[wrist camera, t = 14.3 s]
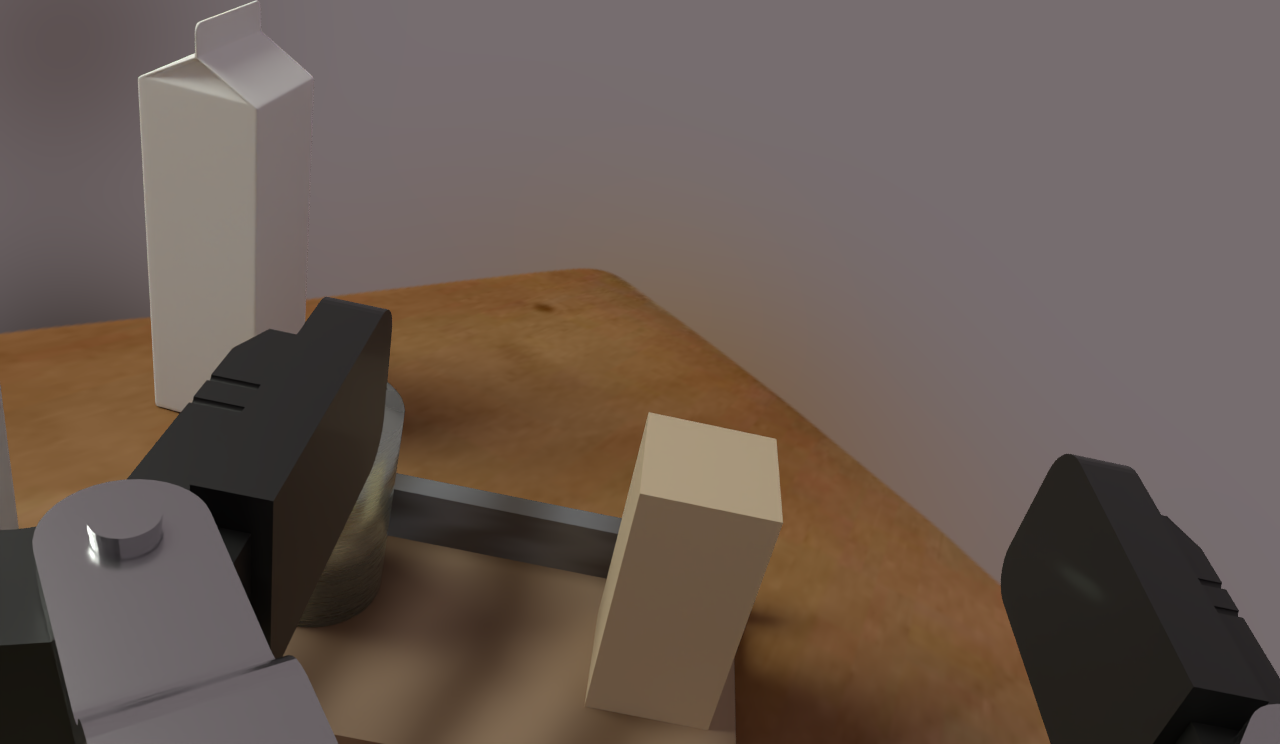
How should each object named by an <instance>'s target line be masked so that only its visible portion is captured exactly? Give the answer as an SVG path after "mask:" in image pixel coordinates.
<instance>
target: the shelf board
mask: <svg viewBox="0 0 1280 744" xmlns="http://www.w3.org/2000/svg"><path fill="white" fill-rule="evenodd" d="M621 520H622V518H617V517H612V516H607V515H602V514H597V513H592V512H587V511H582V510H577V509H572V508H567V507H562V506H557V505H552V504H547V503H542V502H537V501H532V500H527V499H522V498H517V497H512V496H507V495H502V494H497V493H492V492H487V491H482V490H477V489H472V488H467V487H463V486H458V485H453V484H448V483H443V482H438V481H433V480H428V479H423V478H418V477H413V476H408V475H403V474H398V473H396V478H395V485H394V492H393V499H392V506H391V513H390V520H389V527H388V534H387V541H386V548H385V555H384V562H383V569H382V576H381V583H380V588H379V591H378V593H377V595H376V597H375V599H374V600H373V601H372V603H371V604H370V605H369V606H368V607H367V608H366V609H365V610H363V611H362V612H361V613H360V614H358V615H356V616H355V617H353V618H351V619H349V620H347V621H344V622H341V623H338V624H334V625H330V626H324V627H298V626H297V627H296V630H295V632H294V634H293V636H292V638H291V640H290V642H289V644H288V646H287V648H286V650H285V653H284V655H283V657H284V656H287V655H292V656H294V657H295V658H296V659H297V660H298V661H299V663H300V664H301V666H302V667H303V669H304V670H305V672H306V674H307V676H308V678H309V680H310V683H311V685H312V687H313V689H314V691H315V694H316V696H317V698H318V700H319V702H320V705H321V707H322V709H323V711H324V713H325V716H326V718H327V720H328V722H329V724H330V726H331V729H332V731H333V733H334V735H335V737H336V740H337V742H338V744H736V718H735V668H734V659H733V662H732V665H731V668H730V671H729V673H728V676H727V679H726V682H725V684H724V687H723V690H722V693H721V695H720V698H719V701H718V704H717V707H716V709H715V712H714V715H713V718H712V720H711V723H710V726H709V729H708V730H704V729H699V728H694V727H689V726H683V725H678V724H673V723H668V722H663V721H658V720H653V719H647V718H642V717H637V716H632V715H627V714H622V713H617V712H612V711H606V710H601V709H596V708H591V707H586V706H585V699H586V692H587V685H588V678H589V671H590V664H591V657H592V650H593V643H594V636H595V629H596V622H597V615H598V611H599V607H600V603H601V599H602V595H603V592H604V588H605V584H606V580H607V576H608V572H609V568H610V564H611V560H612V556H613V552H614V548H615V544H616V540H617V536H618V532H619V528H620V524H621Z"/></svg>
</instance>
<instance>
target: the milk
mask: <svg viewBox="0 0 1280 744" xmlns="http://www.w3.org/2000/svg"><path fill="white" fill-rule="evenodd" d="M313 89H314V78H313V76H312V75H311V74H310V73H308V72H307V71H306V70H305V69H304V68H303V67H301V66H300V65H299V64H298V63H297V62H296V61H295V60H294V59H293V58H291V57H290V56H289V55H288V54H287V53H286V52H284V50H282V49H281V48H280V47H279V46H278V45H277V44H276V43H275V42H273V41H272V40H271V39H270V38H269V37H268V36H267V35H265V34H264V33H263V32H262V31H261V6H260V3H259V2H258V1H254V2H251V3H248V4H245V5H243V6H240V7H237V8H235V9H232V10H229V11H227V12H224V13H221V14H219V15H216V16H213V17H211V18H208V19H205V20H202V21H200V22H198V23H197V25H196V28H195V53H194V54H192V55H190V56H187V57H185V58H182V59H180V60H178V61H175V62H173V63H170V64H168V65H166V66H163V67H161V68H159V69H156V70H154V71H151V72H149V73H147V74H144V75H142V76H140V77H138V91H139V109H140V127H141V146H142V164H143V182H144V201H145V219H146V237H147V256H148V273H149V292H150V310H151V329H152V347H153V366H154V384H155V401H156V405H157V406H159V407H163V408H166V409H170V410H173V411H177V412H181V411H182V410H183V409H184V408H185V406H186V405H187V404H188V403H189V402H190V403H192V401H193V397H194V395H195V394H196V393H197V392H198V390H199V389H200V388H201V387H202V385H203V384H204V383H205V382H206V380H210V379H211V374H212V373H213V372H214V370H215V369H216V368H217V367H218V365H219V364H220V363H221V362H222V360H223V359H224V358H225V357H226V356H227V354H228V353H229V352H230V351H231V349H232V348H233V347H235V346H237V345H239V344H241V343H243V342H245V341H247V340H249V339H251V338H253V337H255V336H257V335H258V334H260V333H262V332H264V331H266V330H268V329H273V330H278V331H283V332H288V333H292V334H297V333H298V332H299V331H300V329H301V328H302V326H303V325H304V324H305V310H306V282H307V255H308V252H307V251H308V226H309V198H310V171H311V143H312V117H313V116H312V115H313Z"/></svg>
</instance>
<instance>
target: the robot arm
mask: <svg viewBox="0 0 1280 744" xmlns="http://www.w3.org/2000/svg"><path fill="white" fill-rule="evenodd" d="M391 333H392V315H391V312H390V310H387V309H382V308H378V307H373V306H368V305H363V304H359V303H354V302H349V301H344V300H339V299H335V298H330V297H325V298H323V299H322V300H321V301H320V303H319V304H318V305H317V307H316V308H315V310H314V311H313V312H312V314H311V315H310V317H309V318H308V319H307V321H306V322H305V324H304V325H303V326H302V328H301V329H300V331H299V332H298V333H297V334H292V333H288V332H283V331H278V330H273V329H268V330H266V331H264V332H262V333H260V334H258V335H257V336H255V337H253V338H251V339H249V340H247V341H245V342H243V343H241V344H239V345H237V346H235V347H233V348H232V349H231V351H230V352H229V353H228V354H227V356H226V357H225V358H224V359H223V360H222V362H221V363H220V364H219V365H218V367H217V368H216V369H215V370H214V372H213V373H212V374H211V379H210V380H206V382H205V383H204V384H203V385H202V387H201V388H200V389H199V390H198V392H197V393H196V394H195V395H194V397H193V401H192V403H190V402H189V403H188V404H187V405H186V406H185V408H184V409H183V410H182V411H181V413H180V414H179V415H178V416H177V418H176V419H175V420H174V421H173V423H172V424H171V425H170V426H169V428H168V429H167V430H166V431H165V433H164V434H163V435H162V436H161V438H160V439H159V440H158V441H157V442H156V444H155V445H154V446H153V447H152V449H151V450H150V451H149V452H148V454H147V455H146V456H145V457H144V459H143V460H142V461H141V462H140V464H139V465H138V466H137V467H136V469H135V470H134V471H133V472H132V474H131V475H130V476H129V477H128V479H127V480H119V481H112V482H106V483H102V484H98V485H94V486H91V487H89V488H86V489H83V490H80V491H78V492H76V493H74V494H72V495H70V496H68V497H66V498H65V499H63V500H62V501H60V502H59V503H57V504H56V505H55V506H53V507H52V508H51V509H50V510H49V511H48V512H47V513H46V514H45V515H44V516H43V518H42V519H41V520H40V521H39V523H38V525H37V527H31V528H24V529H11V530H0V744H338V742H337V740H336V737H335V735H334V733H333V731H332V729H331V726H330V724H329V722H328V720H327V718H326V716H325V713H324V711H323V709H322V707H321V705H320V702H319V700H318V698H317V696H316V694H315V691H314V689H313V687H312V685H311V683H310V680H309V678H308V676H307V674H306V672H305V670H304V669H303V667H302V666H301V664H300V663H299V661H298V660H297V659H296V658H295V657H294V656H292V655H287V656H284V657H283V655H284V653H285V650H286V648H287V646H288V644H289V642H290V640H291V638H292V636H293V634H294V632H295V630H296V627H297V625H298V623H299V621H300V619H301V617H302V615H303V613H304V611H305V609H306V606H307V604H308V602H309V600H310V598H311V596H312V594H313V592H314V590H315V588H316V585H317V583H318V581H319V579H320V577H321V575H322V573H323V571H324V569H325V567H326V564H327V562H328V560H329V558H330V556H331V554H332V552H333V550H334V548H335V546H336V543H337V541H338V539H339V537H340V535H341V533H342V531H343V529H344V527H345V525H346V522H347V520H348V518H349V516H350V514H351V512H352V510H353V508H354V506H355V504H356V502H357V499H358V497H359V495H360V493H361V491H362V489H363V487H364V485H365V483H366V481H367V478H368V476H369V474H370V472H371V470H372V467H373V464H374V461H375V458H376V455H377V452H378V448H379V444H380V439H381V434H382V429H383V422H384V412H385V401H386V390H387V378H388V367H389V356H390V345H391ZM1221 584H1222V582H1221V581H1220V579H1219V577H1218V576H1217V574H1216V572H1215V571H1214V569H1213V567H1212V566H1211V565H1210V562H1209V561H1208V559H1207V557H1206V556H1205V554H1204V552H1203V551H1202V549H1201V548H1200V547H1199V546H1198V545H1196V544H1195V543H1194V542H1193V541H1192V540H1191V539H1190V538H1189V537H1188V536H1187V535H1186V534H1185V533H1184V532H1183V531H1182V530H1181V529H1180V528H1179V527H1177V526H1176V525H1175V524H1174V523H1173V522H1172V521H1171V520H1170V519H1169V518H1168V517H1167V516H1163V515H1161V514H1160V512H1159V510H1158V509H1157V507H1156V505H1155V504H1154V502H1153V500H1152V499H1151V497H1150V495H1149V493H1148V492H1147V490H1146V488H1145V487H1144V485H1143V483H1142V481H1141V479H1140V478H1139V476H1138V474H1137V473H1136V472H1135V470H1133V469H1132V468H1131V467H1128V466H1124V465H1120V464H1114V463H1110V462H1105V461H1100V460H1096V459H1091V458H1086V457H1081V456H1076V455H1072V454H1065V455H1063V456H1061V457H1059V458H1058V459H1057V460H1056V461H1055V462H1054V464H1053V465H1052V466H1051V468H1050V470H1049V471H1048V473H1047V475H1046V478H1045V479H1044V481H1043V483H1042V485H1041V487H1040V489H1039V491H1038V493H1037V495H1036V497H1035V498H1034V500H1033V502H1032V504H1031V506H1030V508H1029V510H1028V512H1027V514H1026V516H1025V517H1024V519H1023V521H1022V523H1021V525H1020V527H1019V529H1018V531H1017V533H1016V535H1015V537H1014V539H1013V540H1012V542H1011V545H1010V546H1009V548H1008V551H1007V553H1006V556H1005V559H1004V563H1003V568H1002V574H1001V594H1002V599H1003V603H1004V606H1005V609H1006V612H1007V615H1008V618H1009V621H1010V624H1011V627H1012V630H1013V633H1014V636H1015V639H1016V642H1017V645H1018V648H1019V651H1020V654H1021V657H1022V660H1023V663H1024V666H1025V669H1026V672H1027V675H1028V677H1029V680H1030V683H1031V686H1032V689H1033V692H1034V695H1035V698H1036V701H1037V704H1038V707H1039V710H1040V713H1041V716H1042V719H1043V722H1044V725H1045V728H1046V731H1047V734H1048V737H1049V740H1050V743H1051V744H1280V678H1279V676H1278V675H1277V673H1276V671H1275V670H1274V668H1273V667H1272V665H1271V663H1270V661H1269V660H1268V658H1267V657H1266V655H1265V653H1264V652H1263V650H1262V648H1261V647H1260V645H1259V643H1258V642H1257V640H1256V638H1255V637H1254V635H1253V633H1252V632H1251V630H1250V628H1249V627H1248V625H1247V623H1246V622H1245V620H1244V619H1243V618H1241V617H1238V611H1239V610H1238V609H1237V607H1236V606H1235V604H1234V602H1233V601H1232V599H1231V597H1230V595H1229V594H1228V592H1227V590H1225V589H1221Z"/></svg>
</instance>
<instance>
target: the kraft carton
mask: <svg viewBox="0 0 1280 744" xmlns="http://www.w3.org/2000/svg"><path fill="white" fill-rule="evenodd" d="M782 524H783V518H782V506H781V493H780V480H779V468H778V455H777V442H776V439H774V438H769V437H764V436H759V435H755V434H750V433H745V432H740V431H735V430H731V429H726V428H721V427H716V426H712V425H707V424H702V423H697V422H692V421H688V420H683V419H678V418H673V417H669V416H664V415H659V414H654V413H648V417H647V421H646V425H645V429H644V433H643V437H642V441H641V445H640V449H639V453H638V457H637V461H636V465H635V469H634V473H633V477H632V481H631V485H630V489H629V493H628V497H627V500H626V504H625V508H624V512H623V516H622V520H621V524H620V528H619V532H618V536H617V540H616V544H615V548H614V552H613V556H612V560H611V564H610V568H609V572H608V576H607V580H606V584H605V588H604V592H603V595H602V599H601V603H600V607H599V611H598V615H597V622H596V629H595V636H594V643H593V650H592V657H591V664H590V671H589V678H588V685H587V692H586V699H585V706H586V707H591V708H596V709H601V710H606V711H612V712H617V713H622V714H627V715H632V716H637V717H642V718H647V719H653V720H658V721H663V722H668V723H673V724H678V725H683V726H689V727H694V728H699V729H704V730H708V729H709V726H710V723H711V720H712V718H713V715H714V712H715V709H716V707H717V704H718V701H719V698H720V695H721V693H722V690H723V687H724V684H725V682H726V679H727V676H728V673H729V671H730V668H731V665H732V662H733V659H734V657H735V654H736V651H737V648H738V646H739V643H740V640H741V637H742V635H743V632H744V629H745V626H746V623H747V621H748V618H749V615H750V612H751V610H752V607H753V604H754V601H755V599H756V596H757V593H758V590H759V588H760V585H761V582H762V579H763V576H764V574H765V571H766V568H767V565H768V563H769V560H770V557H771V554H772V552H773V549H774V546H775V543H776V540H777V538H778V535H779V532H780V529H781V527H782Z"/></svg>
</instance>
